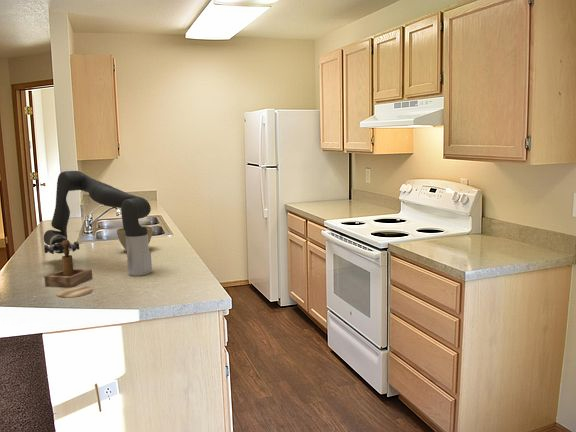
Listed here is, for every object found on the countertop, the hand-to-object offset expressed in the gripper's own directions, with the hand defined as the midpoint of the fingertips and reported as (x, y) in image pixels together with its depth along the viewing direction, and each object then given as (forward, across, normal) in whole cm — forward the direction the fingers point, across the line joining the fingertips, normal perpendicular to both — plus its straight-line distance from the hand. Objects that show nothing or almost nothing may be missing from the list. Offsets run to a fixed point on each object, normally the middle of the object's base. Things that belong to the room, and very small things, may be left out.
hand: (63, 250), depth 223 cm
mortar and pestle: (+12, 0, +12) cm, 16 cm away
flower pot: (-34, +38, +12) cm, 53 cm away
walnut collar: (+12, 0, +11) cm, 16 cm away
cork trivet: (+29, 0, +11) cm, 31 cm away
